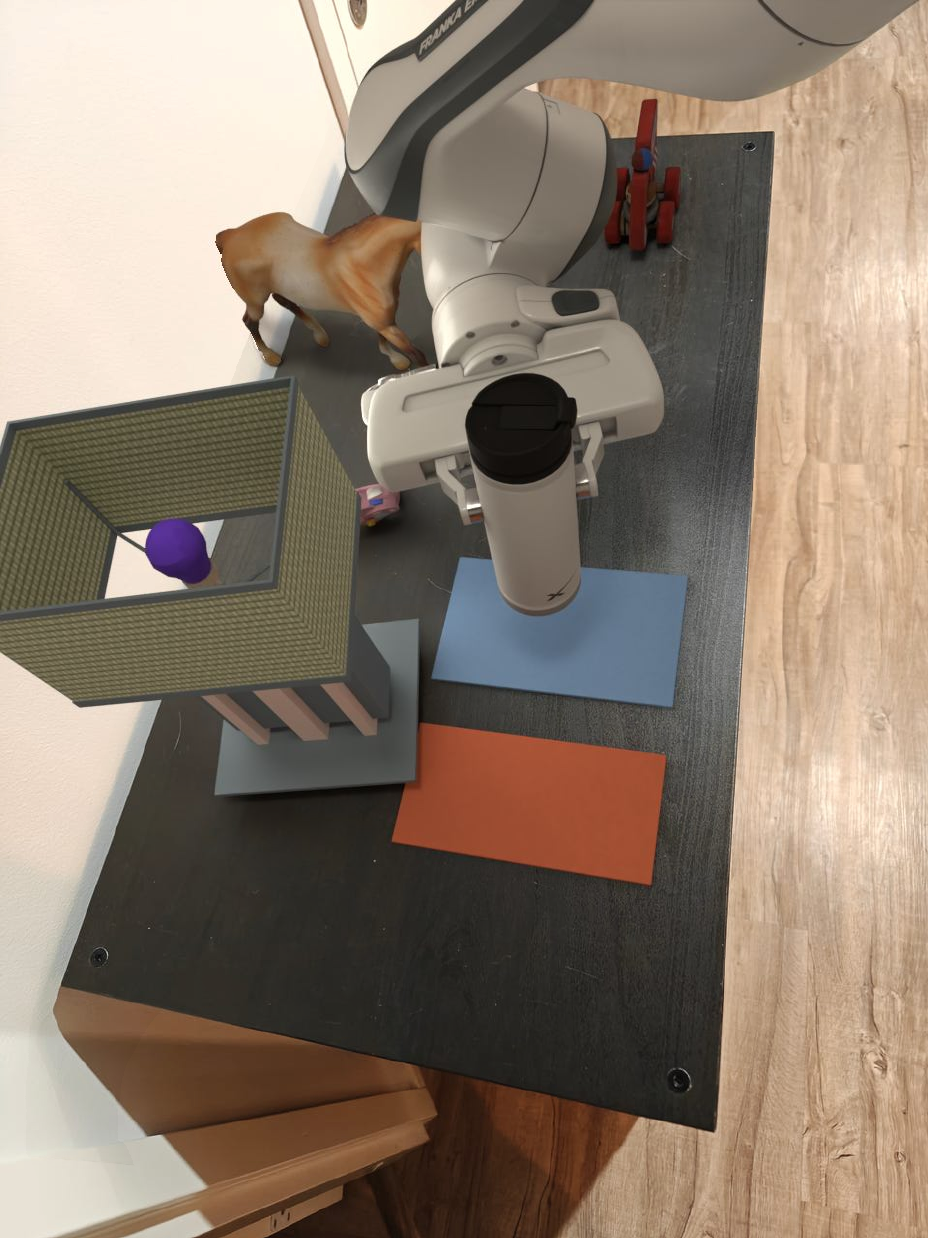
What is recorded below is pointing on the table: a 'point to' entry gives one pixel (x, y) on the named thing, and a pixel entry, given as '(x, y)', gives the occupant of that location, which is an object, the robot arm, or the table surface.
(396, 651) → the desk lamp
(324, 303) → the horse figurine
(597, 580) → the blue mat
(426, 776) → the terracotta mat
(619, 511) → the table surface
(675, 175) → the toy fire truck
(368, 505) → the pink toy
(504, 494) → the travel mug
